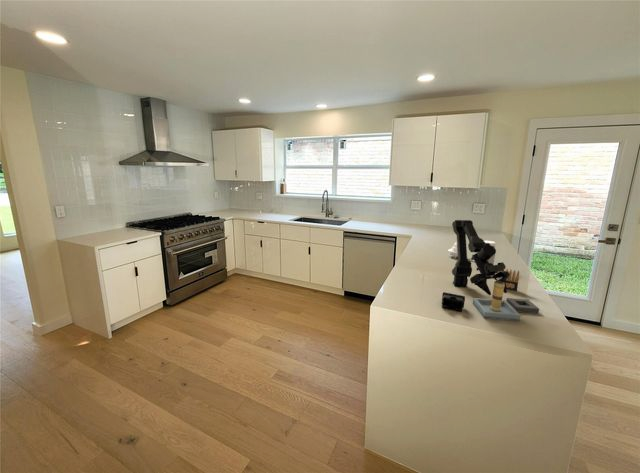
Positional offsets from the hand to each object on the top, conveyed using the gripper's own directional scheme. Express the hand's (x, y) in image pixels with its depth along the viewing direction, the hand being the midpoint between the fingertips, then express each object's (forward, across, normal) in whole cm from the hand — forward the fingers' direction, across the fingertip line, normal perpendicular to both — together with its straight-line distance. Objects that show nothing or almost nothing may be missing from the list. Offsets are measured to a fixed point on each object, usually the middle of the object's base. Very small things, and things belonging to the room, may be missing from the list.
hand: (498, 293), depth 135 cm
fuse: (+6, 0, +6) cm, 8 cm away
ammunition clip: (-8, +29, +22) cm, 37 cm away
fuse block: (+7, +16, +7) cm, 19 cm away
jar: (-32, +49, +46) cm, 74 cm away
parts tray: (+7, 0, +7) cm, 9 cm away
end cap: (0, -17, +13) cm, 22 cm away
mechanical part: (-48, +44, +62) cm, 90 cm away
